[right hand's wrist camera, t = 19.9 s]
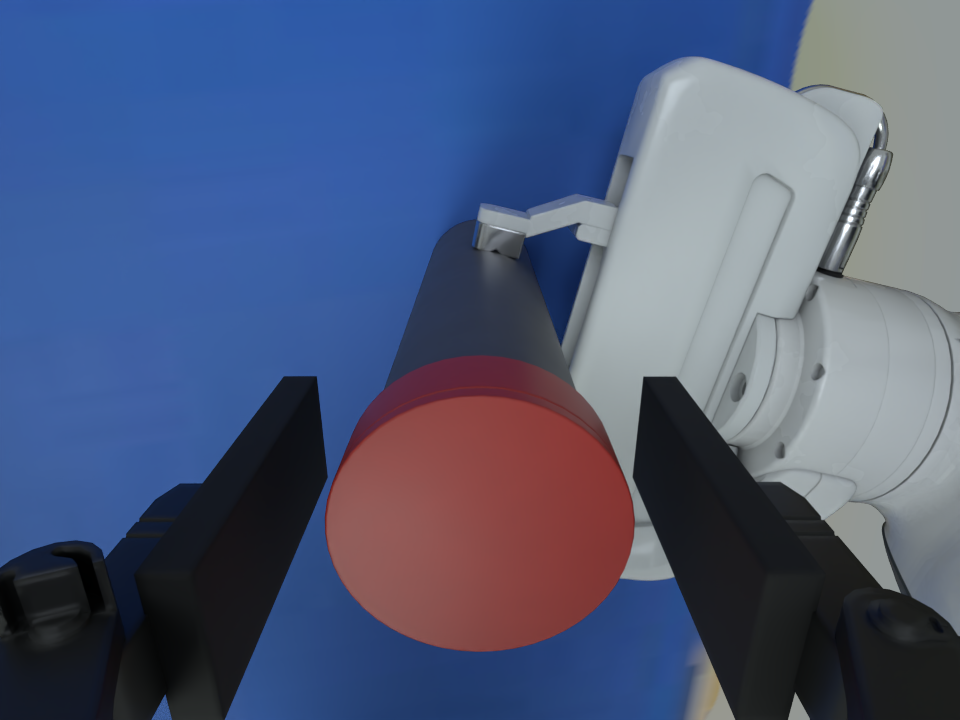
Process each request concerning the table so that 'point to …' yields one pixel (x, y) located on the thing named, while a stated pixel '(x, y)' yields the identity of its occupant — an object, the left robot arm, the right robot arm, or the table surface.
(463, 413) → the lid
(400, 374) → the dark grey cylinder
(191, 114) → the table surface
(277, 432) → the right robot arm
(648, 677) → the table surface
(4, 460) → the table surface
